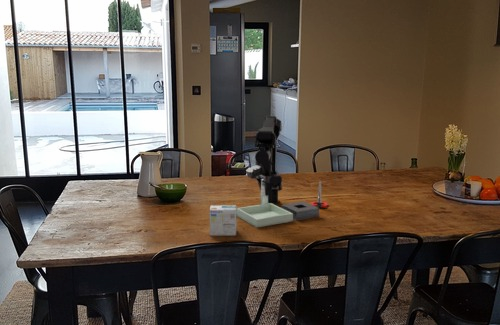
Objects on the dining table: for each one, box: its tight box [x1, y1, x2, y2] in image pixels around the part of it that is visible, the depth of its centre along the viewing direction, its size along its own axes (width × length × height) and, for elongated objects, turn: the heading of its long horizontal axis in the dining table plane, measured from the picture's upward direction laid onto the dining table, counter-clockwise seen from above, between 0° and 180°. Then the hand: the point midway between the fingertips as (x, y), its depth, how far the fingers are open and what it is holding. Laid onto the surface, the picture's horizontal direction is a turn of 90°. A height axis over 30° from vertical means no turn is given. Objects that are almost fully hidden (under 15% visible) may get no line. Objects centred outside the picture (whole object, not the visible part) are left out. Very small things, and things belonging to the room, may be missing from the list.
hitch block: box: [281, 201, 320, 221], centre depth 223 cm, size 12×12×4 cm
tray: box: [236, 203, 294, 229], centre depth 217 cm, size 18×18×4 cm
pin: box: [260, 178, 268, 207], centre depth 215 cm, size 3×3×12 cm
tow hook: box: [310, 180, 329, 209], centre depth 237 cm, size 8×13×9 cm
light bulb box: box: [209, 204, 238, 236], centre depth 198 cm, size 11×7×11 cm, turn 92°
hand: (264, 194), depth 216 cm, fingers closed on pin, 3 cm apart
